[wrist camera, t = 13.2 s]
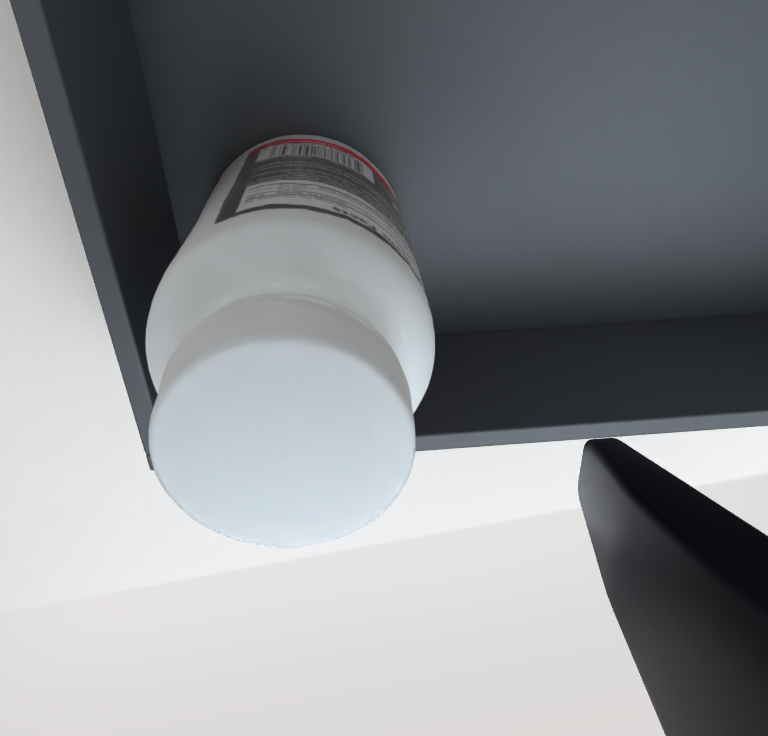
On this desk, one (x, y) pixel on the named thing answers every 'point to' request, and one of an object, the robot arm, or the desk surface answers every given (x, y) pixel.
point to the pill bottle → (290, 349)
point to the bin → (458, 184)
